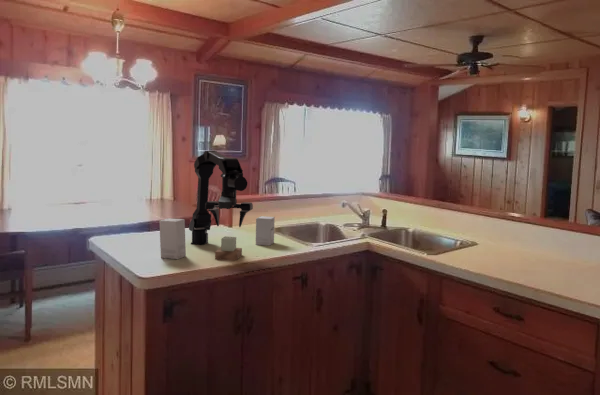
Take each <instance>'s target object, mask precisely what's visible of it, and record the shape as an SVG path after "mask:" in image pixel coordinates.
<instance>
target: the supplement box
mask: <svg viewBox="0 0 600 395" xmlns="http://www.w3.org/2000/svg"><path fill="white" fill-rule="evenodd" d="M274 243H275V216H262V215H261V216H259V217H256V218H255V245H258V246H259V245H260V246H271V245H272V244H274Z"/></svg>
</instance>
